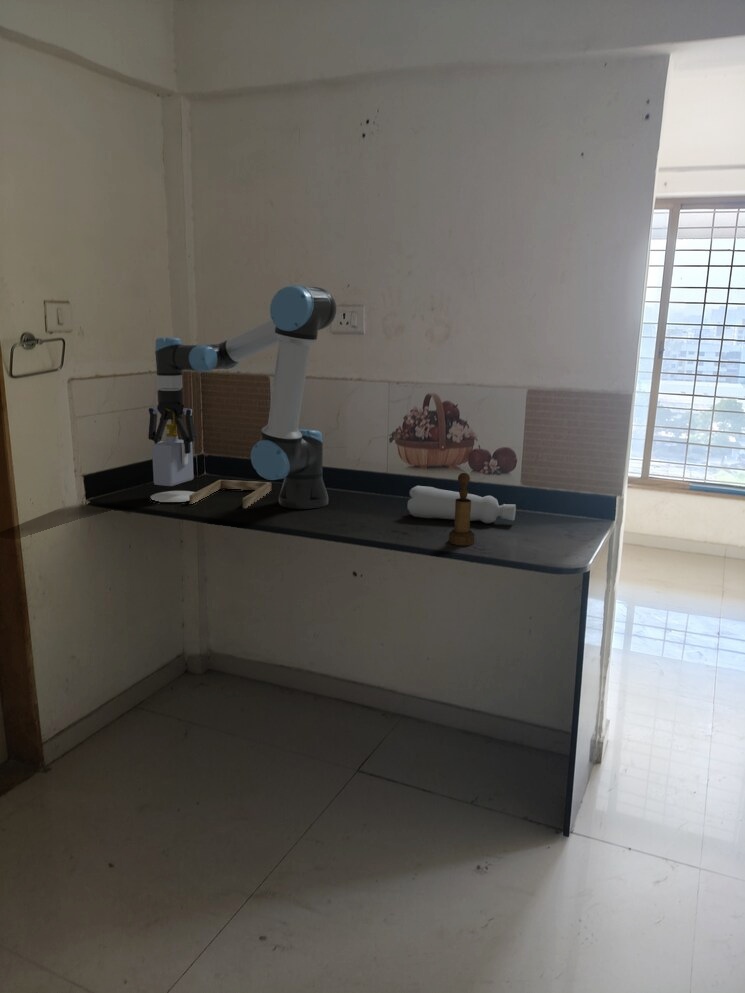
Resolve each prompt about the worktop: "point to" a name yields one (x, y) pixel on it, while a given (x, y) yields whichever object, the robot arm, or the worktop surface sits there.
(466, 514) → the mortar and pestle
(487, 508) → the bottle
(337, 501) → the worktop surface
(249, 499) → the frame
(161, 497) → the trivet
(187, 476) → the soap bottle
